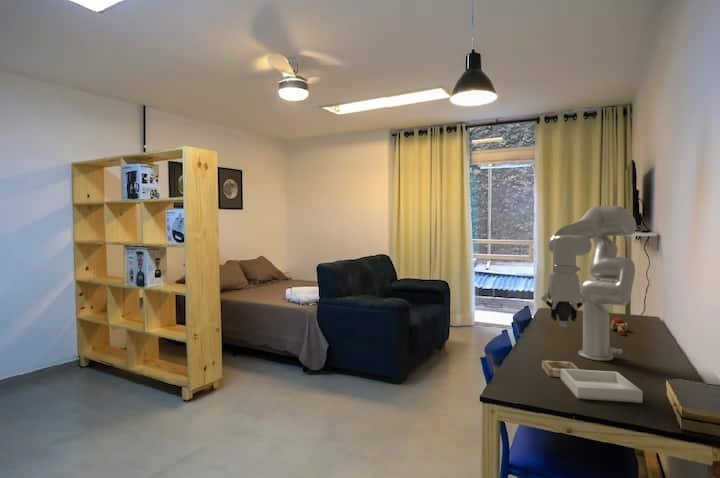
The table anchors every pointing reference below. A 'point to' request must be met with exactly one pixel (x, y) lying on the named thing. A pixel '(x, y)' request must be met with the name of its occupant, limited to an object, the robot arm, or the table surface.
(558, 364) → the beige flat square frame
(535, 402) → the table surface
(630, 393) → the tray
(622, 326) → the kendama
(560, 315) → the light bulb
